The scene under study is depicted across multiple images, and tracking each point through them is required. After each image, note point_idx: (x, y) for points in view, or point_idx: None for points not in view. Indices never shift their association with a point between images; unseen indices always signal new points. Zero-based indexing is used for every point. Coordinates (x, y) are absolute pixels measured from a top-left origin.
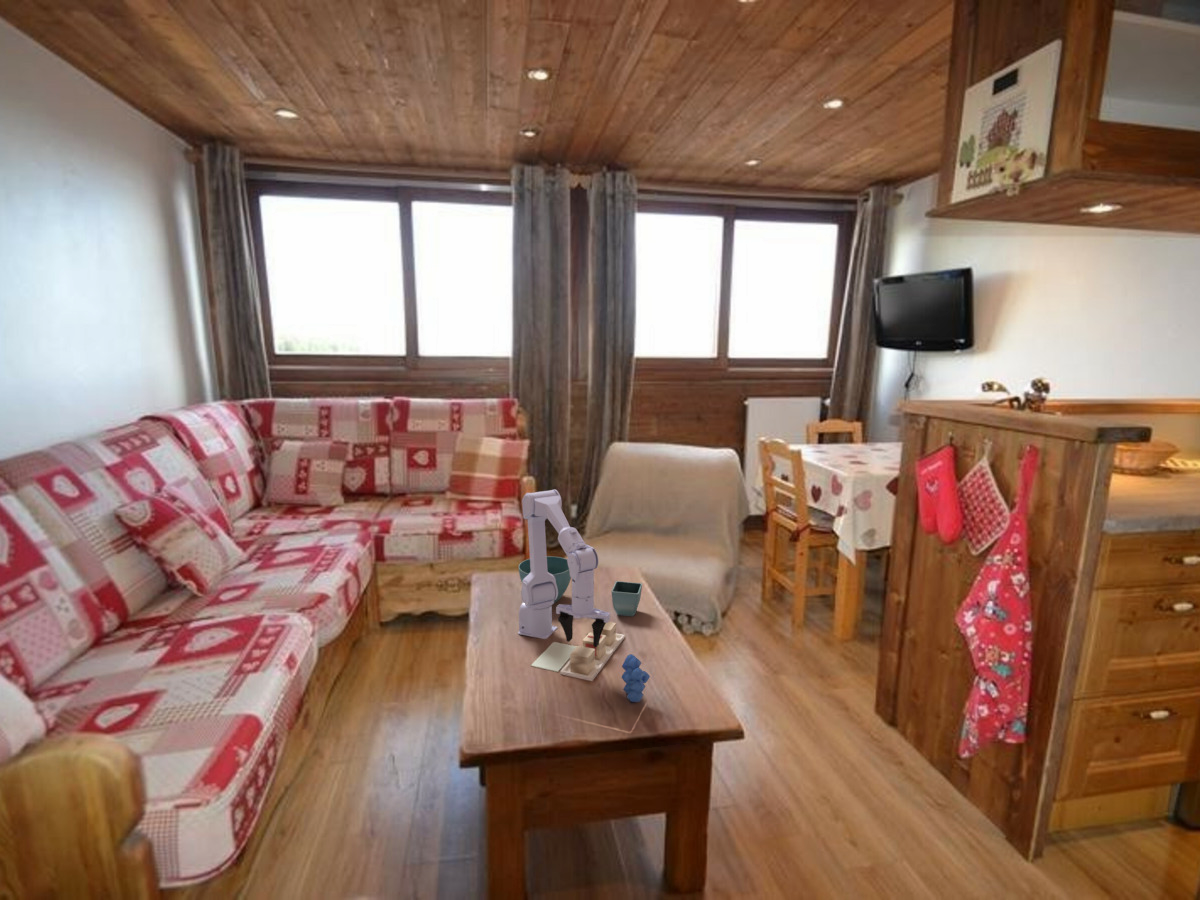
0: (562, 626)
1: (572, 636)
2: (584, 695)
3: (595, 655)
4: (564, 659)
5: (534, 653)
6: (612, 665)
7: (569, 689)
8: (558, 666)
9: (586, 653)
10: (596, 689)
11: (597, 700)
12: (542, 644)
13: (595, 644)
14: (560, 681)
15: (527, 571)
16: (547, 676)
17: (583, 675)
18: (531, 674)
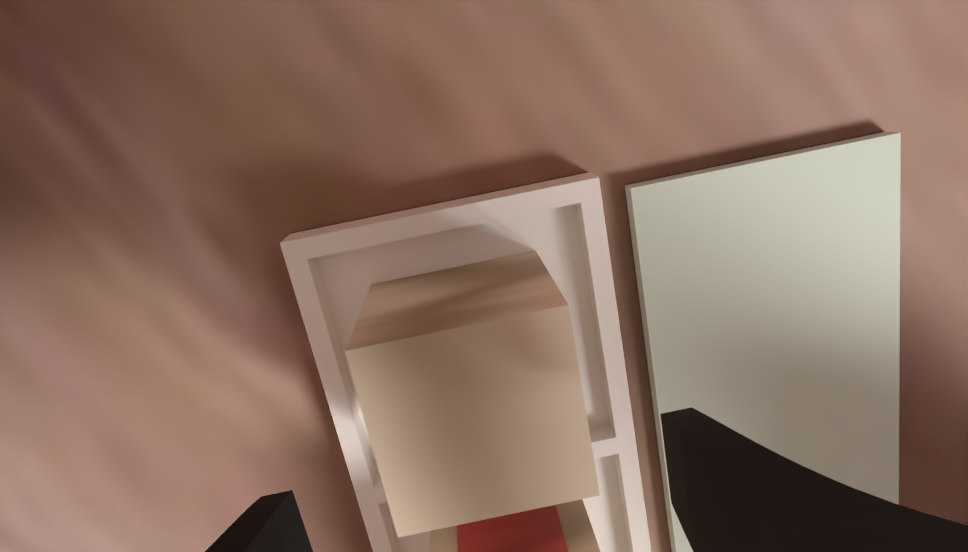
0: (919, 517)
1: (682, 527)
2: (211, 20)
3: (463, 528)
4: (683, 371)
5: (962, 328)
6: (317, 519)
7: (386, 26)
8: (668, 255)
9: (417, 416)
10: (190, 164)
11: (61, 17)
12: (964, 465)
13: (243, 517)
14: (533, 92)
15: None
16: (679, 94)
17: (373, 235)
18: (824, 39)
